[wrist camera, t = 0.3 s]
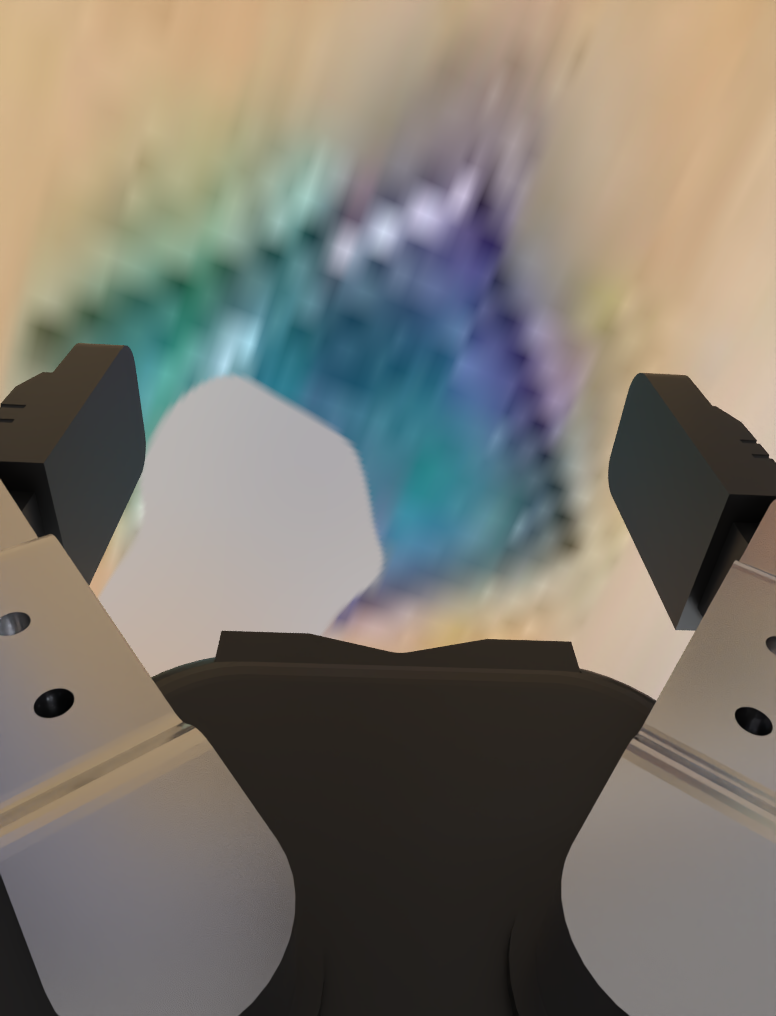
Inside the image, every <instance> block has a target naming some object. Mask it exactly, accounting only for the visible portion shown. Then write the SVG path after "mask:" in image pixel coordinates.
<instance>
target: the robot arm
mask: <svg viewBox="0 0 776 1016" xmlns="http://www.w3.org/2000/svg"><path fill="white" fill-rule="evenodd" d="M756 441H757V440H756V439H755V438H754V437H753V435H752V434H751V433H750V432H749V431H748V429H747V428H746V427H745V426H744V425H743V424H742V422H740V421H738V420H737V419H735V418H734V417H732V416H730V415H729V414H727V413H726V412H724V411H722V410H721V409H719V408H718V407H716V406H712V405H711V404H710V403H709V401H708V400H707V399H706V398H705V396H704V395H703V394H702V393H701V392H700V390H699V389H698V388H697V387H696V385H695V384H694V383H693V382H692V380H691V379H690V378H689V377H688V376H686V375H671V374H652V373H639V374H637V375H636V376H635V377H634V379H633V381H632V383H631V385H630V388H629V391H628V395H627V398H626V402H625V405H624V409H623V413H622V416H621V420H620V424H619V427H618V431H617V434H616V438H615V442H614V445H613V449H612V453H611V457H610V461H609V469H608V481H609V488H610V492H611V495H612V497H613V499H614V501H615V503H616V505H617V508H618V510H619V512H620V514H621V516H622V518H623V520H624V522H625V524H626V527H627V529H628V531H629V533H630V535H631V537H632V539H633V541H634V543H635V545H636V548H637V550H638V552H639V554H640V556H641V558H642V560H643V562H644V564H645V567H646V569H647V571H648V573H649V575H650V577H651V579H652V581H653V583H654V586H655V588H656V590H657V592H658V594H659V596H660V598H661V600H662V602H663V604H664V607H665V609H666V611H667V613H668V615H669V617H670V619H671V621H672V623H673V626H674V628H675V630H695V633H694V635H693V636H692V638H691V640H690V642H689V644H688V645H687V647H686V649H685V651H684V653H683V654H682V656H681V658H680V660H679V662H678V663H677V665H676V667H675V669H674V671H673V672H672V674H671V676H670V678H669V680H668V681H667V683H666V685H665V687H664V689H663V690H662V692H661V694H660V696H659V698H658V699H657V701H656V700H654V699H652V698H651V697H649V696H648V695H646V694H644V693H642V692H640V691H638V690H636V689H634V688H633V687H631V686H629V685H626V684H624V683H622V682H619V681H617V680H615V679H612V678H610V677H607V676H604V675H601V674H598V673H595V672H592V671H588V670H584V669H580V668H579V666H578V663H577V660H576V656H575V653H574V650H573V647H572V643H571V642H562V641H530V640H498V639H485V640H479V641H473V642H467V643H461V644H455V645H449V646H443V647H438V648H432V649H426V650H420V651H414V652H408V653H394V652H388V651H384V650H379V649H375V648H371V647H366V646H362V645H357V644H353V643H349V642H344V641H340V640H335V639H331V638H326V637H322V636H317V635H313V634H305V633H273V632H242V631H222V632H221V636H220V641H219V645H218V649H217V654H216V657H215V658H209V659H203V660H199V661H195V662H192V663H188V664H184V665H181V666H178V667H175V668H173V669H170V670H167V671H165V672H162V673H160V674H158V675H156V676H153V677H150V675H149V674H148V673H147V671H146V670H145V668H144V667H143V665H142V663H141V662H140V661H139V659H138V658H137V656H136V655H135V653H134V652H133V650H132V649H131V648H130V646H129V644H128V643H127V641H126V640H125V638H124V637H123V635H122V634H121V633H120V631H119V630H118V628H117V627H116V625H115V624H114V622H113V621H112V619H111V618H110V616H109V615H108V613H107V612H106V610H105V609H104V608H103V606H102V604H101V603H100V601H99V600H98V598H97V597H96V596H95V594H94V593H93V591H92V590H91V588H90V587H89V585H90V583H91V581H92V578H93V576H94V574H95V572H96V570H97V568H98V566H99V563H100V561H101V559H102V557H103V555H104V553H105V551H106V548H107V546H108V544H109V542H110V540H111V538H112V536H113V533H114V531H115V529H116V527H117V525H118V523H119V521H120V518H121V516H122V514H123V512H124V510H125V508H126V506H127V503H128V501H129V499H130V497H131V495H132V493H133V490H134V488H135V486H136V484H137V482H138V480H139V478H140V475H141V473H142V470H143V467H144V461H145V451H146V441H145V431H144V424H143V417H142V410H141V403H140V396H139V389H138V382H137V375H136V368H135V362H134V357H133V354H132V351H131V349H130V348H129V347H128V346H124V345H105V344H85V343H78V344H76V345H75V346H74V347H73V349H72V350H71V351H70V352H69V353H68V355H67V356H66V357H65V358H64V360H63V361H62V362H61V363H60V364H59V366H58V367H57V368H56V369H55V371H54V372H53V373H48V372H42V373H40V374H39V375H37V376H35V377H33V378H31V379H29V380H27V381H25V382H23V383H22V384H20V385H18V386H16V387H15V388H14V389H13V390H12V391H11V393H10V394H9V395H8V396H7V397H6V398H5V399H4V401H3V402H2V403H1V407H0V1016H776V462H775V461H774V460H773V459H769V454H768V453H767V452H766V451H765V449H764V448H763V447H762V446H761V445H760V444H756Z"/></svg>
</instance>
